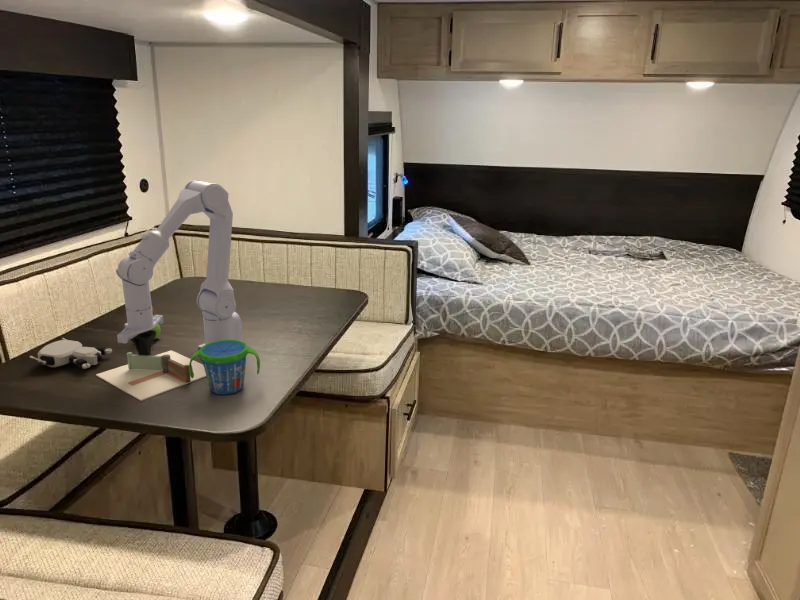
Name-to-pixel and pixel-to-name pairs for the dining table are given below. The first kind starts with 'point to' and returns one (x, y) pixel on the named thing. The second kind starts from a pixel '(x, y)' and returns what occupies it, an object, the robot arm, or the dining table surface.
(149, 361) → the fence gate
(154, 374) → the card
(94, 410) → the dining table surface
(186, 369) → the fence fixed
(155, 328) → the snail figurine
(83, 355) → the robot toy
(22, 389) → the dining table surface
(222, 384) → the snack cup
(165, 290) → the dining table surface
